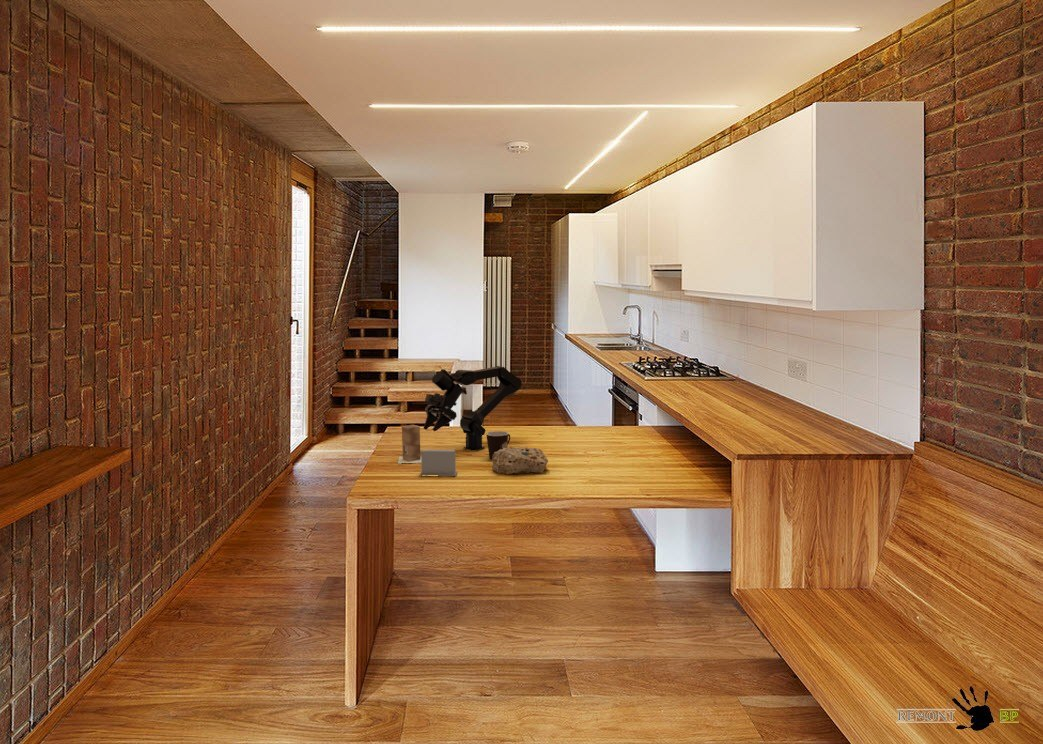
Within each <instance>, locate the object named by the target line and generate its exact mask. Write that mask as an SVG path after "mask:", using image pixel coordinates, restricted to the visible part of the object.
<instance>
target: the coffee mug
mask: <svg viewBox="0 0 1043 744" xmlns="http://www.w3.org/2000/svg"><path fill="white" fill-rule="evenodd" d="M485 433H486V434H485V435H486V442H487V448H488V449H487V451H488V457H489V460H490V459H491V460H490V461H492V459H493V457H492V456H493V454H494V452H497V451H498V450H500V449H503V448H508V445H509V443H510V441H511V434H509V432H507V431H503V430H502V431H501V430H495V431H488V432H485Z"/></svg>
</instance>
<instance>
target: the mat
mask: <svg viewBox="0 0 1043 744" xmlns="http://www.w3.org/2000/svg"><path fill="white" fill-rule="evenodd" d="M420 457H421V455H420ZM418 462H421V460H415V461H410V462H409V461H406V460H404V459H403V455H402V456H399V457H398V461H397V464H398V465H402V464H401V463H416V464H419V463H418Z"/></svg>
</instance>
